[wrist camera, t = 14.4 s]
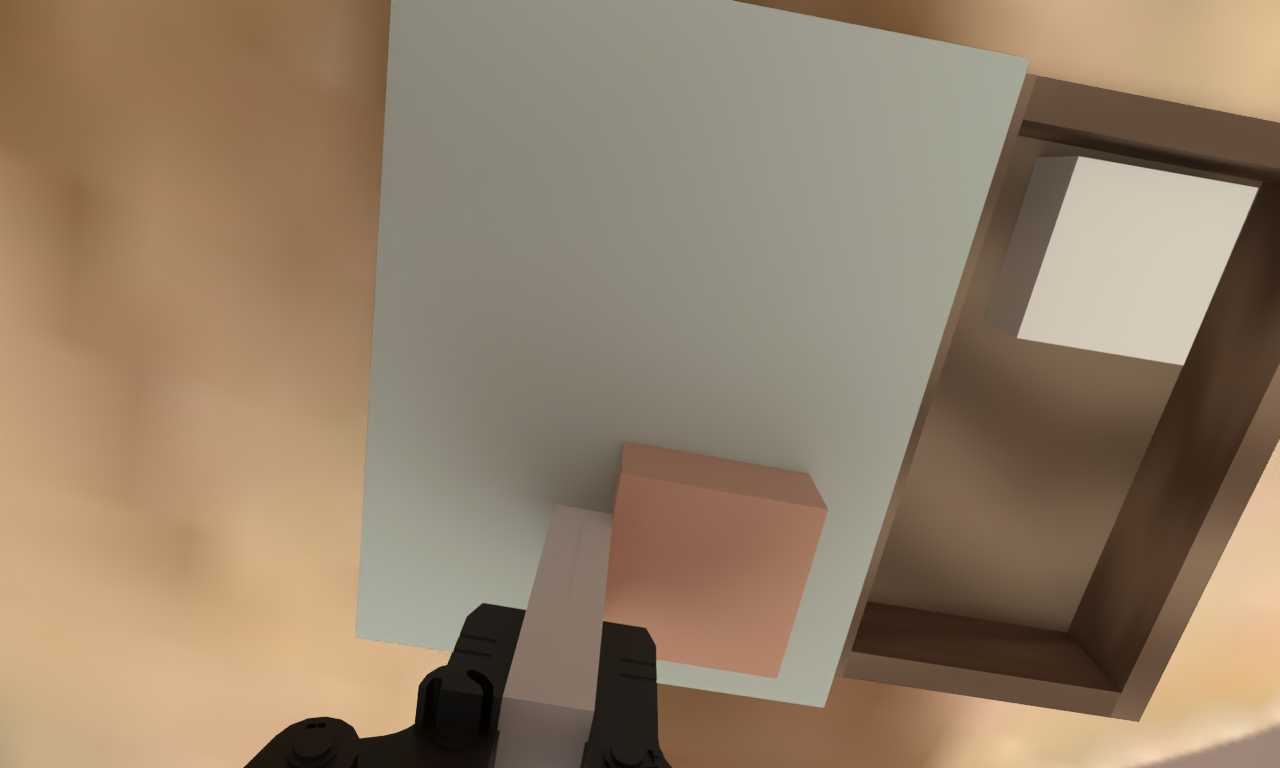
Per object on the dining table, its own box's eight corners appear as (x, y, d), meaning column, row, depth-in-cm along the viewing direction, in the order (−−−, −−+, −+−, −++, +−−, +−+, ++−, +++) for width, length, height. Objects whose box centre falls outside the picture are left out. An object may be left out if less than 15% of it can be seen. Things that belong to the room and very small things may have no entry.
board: (457, -9, 19) (394, -65, 14) (938, 84, 20) (1030, 58, 15) (411, 546, 25) (355, 638, 20) (790, 605, 25) (824, 707, 20)
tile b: (623, 441, 18) (621, 474, 16) (809, 473, 18) (828, 509, 16) (592, 601, 19) (587, 648, 18) (764, 629, 20) (776, 678, 18)
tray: (938, 84, 20) (997, 68, 16) (1295, 152, 20) (1422, 150, 17) (790, 605, 25) (812, 672, 22) (1075, 649, 26) (1138, 721, 22)
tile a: (1258, 187, 18) (1200, 185, 20) (1078, 156, 18) (1037, 157, 20) (1183, 365, 20) (1136, 347, 22) (1016, 338, 20) (983, 322, 21)
